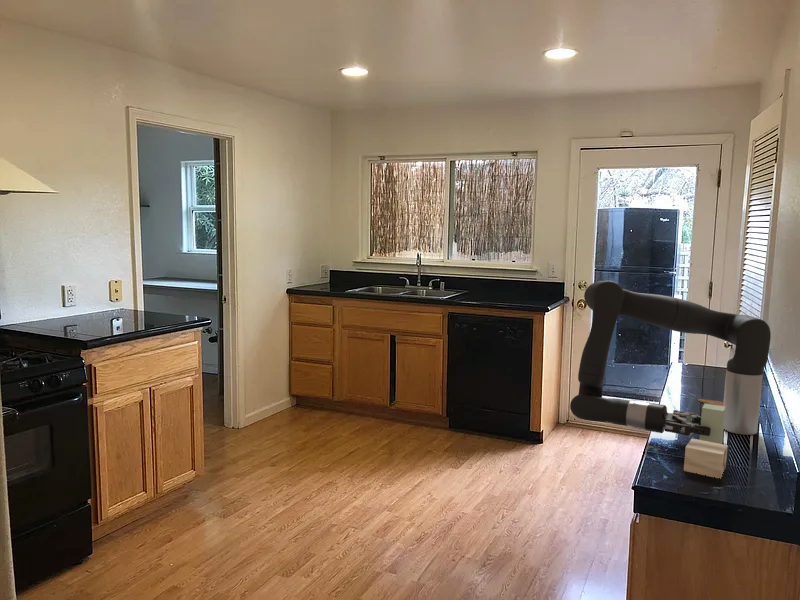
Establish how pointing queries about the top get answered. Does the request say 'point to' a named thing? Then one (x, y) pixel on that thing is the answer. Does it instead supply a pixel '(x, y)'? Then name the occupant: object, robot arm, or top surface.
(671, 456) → the top surface
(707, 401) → the shard
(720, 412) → the sage block
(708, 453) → the birch base block
